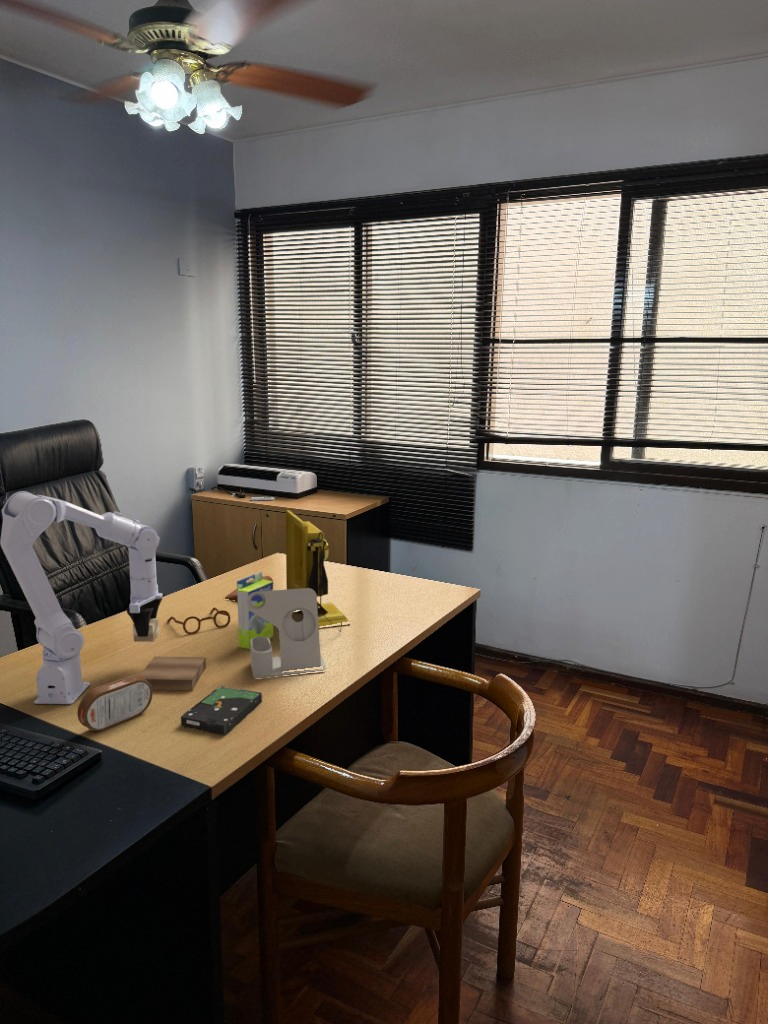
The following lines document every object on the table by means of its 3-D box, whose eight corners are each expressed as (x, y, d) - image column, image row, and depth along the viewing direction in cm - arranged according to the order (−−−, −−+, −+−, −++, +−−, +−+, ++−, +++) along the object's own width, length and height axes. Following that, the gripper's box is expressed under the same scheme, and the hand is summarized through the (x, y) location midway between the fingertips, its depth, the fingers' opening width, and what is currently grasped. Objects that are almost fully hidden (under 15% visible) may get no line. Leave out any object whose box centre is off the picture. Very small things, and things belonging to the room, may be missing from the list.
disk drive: (226, 738, 135) (263, 703, 149) (226, 725, 135) (262, 691, 149) (180, 729, 139) (220, 695, 152) (179, 716, 138) (219, 683, 152)
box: (249, 650, 176) (248, 584, 172) (236, 647, 177) (234, 581, 174) (275, 636, 185) (274, 573, 181) (262, 633, 187) (261, 570, 183)
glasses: (184, 637, 184) (183, 619, 183) (166, 622, 194) (166, 605, 193) (231, 627, 192) (230, 609, 191) (212, 613, 202) (211, 596, 201)
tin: (147, 706, 147) (145, 668, 145) (156, 710, 145) (154, 672, 143) (77, 734, 135) (74, 693, 133) (86, 739, 133) (83, 698, 131)
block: (153, 641, 162) (152, 625, 161) (133, 641, 162) (132, 625, 161) (159, 634, 167) (158, 618, 166) (140, 634, 166) (139, 618, 166)
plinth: (192, 690, 154) (192, 679, 153) (137, 689, 154) (136, 678, 153) (206, 667, 165) (205, 657, 165) (154, 666, 165) (154, 656, 165)
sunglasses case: (249, 582, 229) (259, 566, 226) (266, 595, 228) (276, 579, 225) (221, 600, 212) (231, 583, 210) (239, 614, 211) (249, 597, 209)
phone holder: (252, 679, 159) (250, 604, 156) (248, 661, 169) (246, 590, 165) (327, 672, 164) (327, 598, 160) (319, 655, 173) (319, 585, 170)
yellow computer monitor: (362, 637, 185) (363, 526, 179) (311, 644, 180) (310, 530, 174) (327, 600, 214) (327, 503, 207) (282, 605, 208) (281, 506, 202)
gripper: (151, 585, 154) (154, 644, 157) (169, 567, 168) (172, 620, 171) (118, 585, 154) (122, 643, 157) (140, 566, 168) (143, 620, 171)
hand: (146, 631), depth 164 cm, fingers closed on block, 4 cm apart
